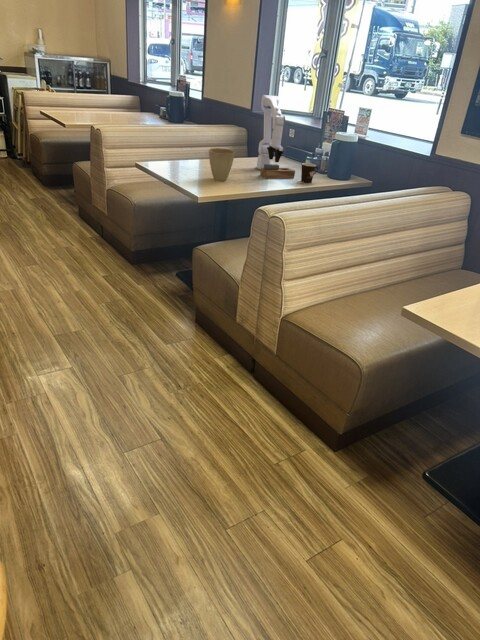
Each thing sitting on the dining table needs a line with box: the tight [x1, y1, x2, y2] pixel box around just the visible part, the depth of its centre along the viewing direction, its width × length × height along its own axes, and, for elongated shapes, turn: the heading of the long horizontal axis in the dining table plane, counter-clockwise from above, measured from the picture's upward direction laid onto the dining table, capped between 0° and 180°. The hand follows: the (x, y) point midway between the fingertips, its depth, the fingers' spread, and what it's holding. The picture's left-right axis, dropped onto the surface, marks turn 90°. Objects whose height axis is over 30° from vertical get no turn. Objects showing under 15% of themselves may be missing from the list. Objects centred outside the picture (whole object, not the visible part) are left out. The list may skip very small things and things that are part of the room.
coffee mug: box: [300, 162, 319, 184], centre depth 286 cm, size 12×9×10 cm
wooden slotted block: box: [259, 167, 296, 179], centre depth 291 cm, size 8×20×4 cm, turn 115°
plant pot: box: [208, 147, 236, 182], centre depth 268 cm, size 15×15×16 cm
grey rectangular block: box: [264, 163, 280, 170], centre depth 288 cm, size 3×9×6 cm, turn 116°
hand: (273, 160), depth 287 cm, fingers open, 7 cm apart
